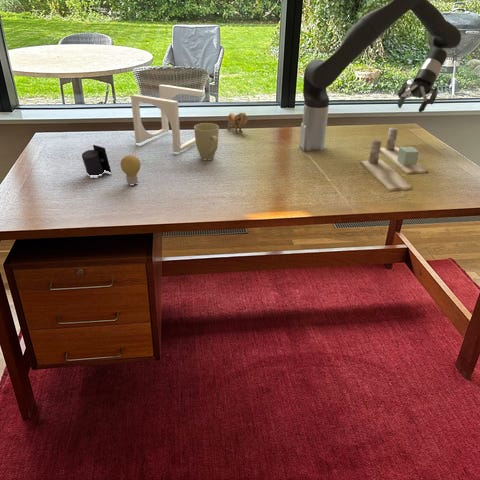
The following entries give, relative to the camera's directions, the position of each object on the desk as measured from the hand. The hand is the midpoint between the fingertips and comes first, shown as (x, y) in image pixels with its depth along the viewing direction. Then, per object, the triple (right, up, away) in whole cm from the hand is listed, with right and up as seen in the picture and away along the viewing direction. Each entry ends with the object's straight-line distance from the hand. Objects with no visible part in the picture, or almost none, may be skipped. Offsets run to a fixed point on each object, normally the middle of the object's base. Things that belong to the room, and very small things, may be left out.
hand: (409, 109), depth 190 cm
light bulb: (-102, -33, -27) cm, 110 cm away
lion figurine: (-67, -4, +22) cm, 71 cm away
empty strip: (-16, -29, -21) cm, 39 cm away
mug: (-78, -21, -7) cm, 81 cm away
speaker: (-115, -29, -21) cm, 121 cm away
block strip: (-6, -21, -9) cm, 24 cm away
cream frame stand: (-94, -12, +8) cm, 95 cm away
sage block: (-5, -23, -13) cm, 27 cm away
